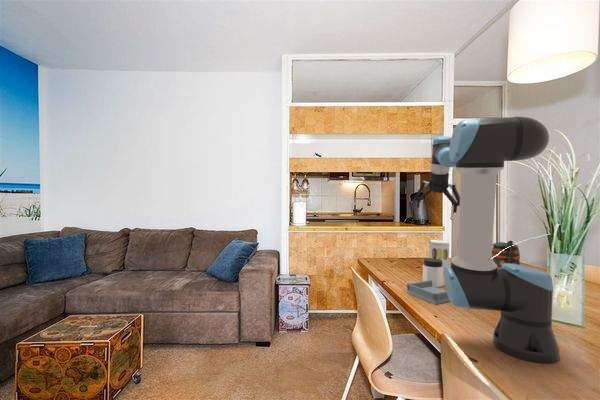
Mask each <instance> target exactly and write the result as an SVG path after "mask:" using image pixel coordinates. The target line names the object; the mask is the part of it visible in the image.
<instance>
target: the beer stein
mask: <svg viewBox="0 0 600 400" xmlns="http://www.w3.org/2000/svg"><path fill="white" fill-rule="evenodd" d="M512 245H514V246H512ZM509 246H511V247H509ZM507 247H509V248H507ZM505 248H507V249H505ZM503 249H505V250H504V251H502V250H503ZM500 251H502V252H501V253H500V254H499V255H498V256H496V257H494V258H493V259H492V260H493V261H494V262H495V263H496V264H497V269H501V266H502V264H504V263H506V264H507V263H510V264H517V265H521V264H520V263H521V262H520V261H521V260H520V259H521V255H520V250H519V246H518V245H517V244H514V241H513V240H508V241H507V242H504V241H503V242H502V241H500V242H494V243H492V257H493V256H495V255H496V254H498V253H499V252H500ZM492 257H491V258H492Z"/></svg>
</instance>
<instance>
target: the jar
mask: <svg viewBox="0 0 600 400" xmlns="http://www.w3.org/2000/svg"><path fill="white" fill-rule="evenodd" d="M429 280H431V281H432V286H433V287H436V288H441V287H443V286H444V273H443V266H442V260H440V259H434V258H429V257H428V258H424V259H423V264H422V282H423V281H429Z"/></svg>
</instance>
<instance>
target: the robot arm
mask: <svg viewBox="0 0 600 400" xmlns="http://www.w3.org/2000/svg"><path fill="white" fill-rule="evenodd" d="M549 140H550V134H549V131H548V129H547V127H546V126H545V125H544V124H543V123H542V122H540V121H538V120H537V119H534V118H532V117H527V116H512V117H511V116H510V117H508V116H507V117H478V118H477V117H476V118H469V119H463V120H461V121H459V122H458V123H457V125H456V126H455V127H454V129H453V131H452V135H451V136H448V135H447V136H446V135H444V136H443V135H440V136H435V137H434V138H433V140H432V146H431V147H432V148H431V151H432V153H431V162H430V173H429V181H426V180H422V182H421V185H420V188H419V189H418V191H417V192H416V194H415V196H413V200H415V201H417V204H416V207H417V208H419V209H418V215H419V216H421V215H422V214H423V201H424V200H423V199H424V198H425V197H427V196H428V195H429V194H430V193H431V192H433V193H436V194H437V193H439V194H444V195H445V197H446V198H447V199H448V200H449V201H450V203H451V204H452V205H451V210H450V211H451V212H450V218H449V219H450V221H452V220H453V219H454V214H455V213H457V210H459V211H458V212H459V213H458V214H459V216H458V231H457V233H458V234H457V236H458V237H457V240H458V241H457V243H458V250H457V253H456V255H455V256H454V257H452V258H451V261H450V265H449V266H446V267H445V268H444V273H443V282H444V286H445V291H447V295H448V298H449V300H450V303H451V304H452V305H453V306H454V307H456V308H463V309H467V310H471V309H473V310H481V311H497V312H500V317H499V320H498V322H497V323H496V326H495V329H494V331H493V335H492V342H493V343H492V344H493V345H494V346H495V347H496V348H497V349H499V350H500V351H502V352H504V353H505V354H507V355H510V356H512V357H515V358H518V359H521V360H523V361H528V362H533V363H538V364H539V363H541V364H550V363H551V364H552V363H555V362H557V361H559V360H560V350H561V349H560V347H559V344H558V341H557V338H556V336H555V333H554V330H553V325H552V322H553V293H554V286H553V278H552V276H551V275H550V274H549V273H547V272H545V270H541V269H538V268H534V267H530V266H526V265H523V264H520V265H517V264H510V263H507V264H506V263H504V264H502V266H501V269H497V264H496V263H495V262H494V261H493V260H492V259H491V258H492V248H493V245H492V244H493V238H494V223H495V222H494V220H495V207H496V205H495V204H496V191H497V189H496V188H497V175H498V174H499V173H500V172H501V171H502V170H504V168H505V162H514V161H515V162H517V161H523V160H529V159H533V158H535V157H536V156H539V155H540V154H541V153H543V151H545V149H547V146H548V145H549ZM453 167H455V169H456V170H457V172H459V173H460V190H459V192H458V190H457V183H455V182H454V183H451V184H450V183H449V176H450V173H449V172H450V168H453ZM427 186H428V187H429V189H427V190H426V191H425V192H424V193H423V194H421V193H422V191H423V190H424V189H425V187H427ZM448 188H449V189H450V190H452V193H453V195H452V194H451V193H450V192H449V190H448ZM419 196H420V197H419ZM453 196H454V197H453ZM458 207H459V209H458Z"/></svg>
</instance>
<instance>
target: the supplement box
mask: <svg viewBox="0 0 600 400" xmlns="http://www.w3.org/2000/svg"><path fill="white" fill-rule="evenodd" d="M428 254H429V255H428V258H434V259H440V260H442V266H443V274H444V268H445V267H446V266H450V259H449V258H450V242H449V241H447V240H443V239H442V240H440V239H429V253H428Z"/></svg>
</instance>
